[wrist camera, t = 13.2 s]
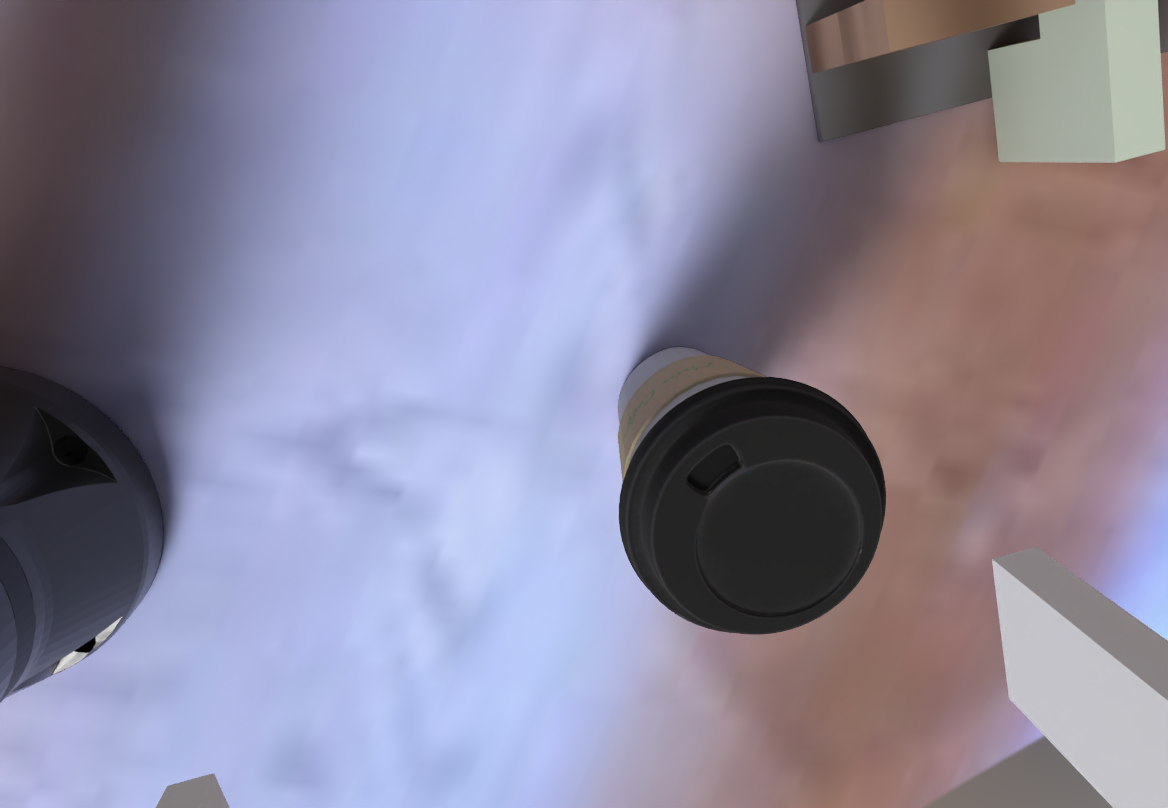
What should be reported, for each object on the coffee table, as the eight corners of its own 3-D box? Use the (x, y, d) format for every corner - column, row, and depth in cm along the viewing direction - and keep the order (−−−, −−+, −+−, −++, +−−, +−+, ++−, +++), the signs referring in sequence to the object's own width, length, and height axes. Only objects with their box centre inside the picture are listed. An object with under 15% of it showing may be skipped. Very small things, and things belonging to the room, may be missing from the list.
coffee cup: (625, 284, 41) (694, 350, 27) (800, 350, 43) (953, 446, 29) (555, 462, 43) (585, 612, 29) (725, 518, 45) (833, 686, 31)
